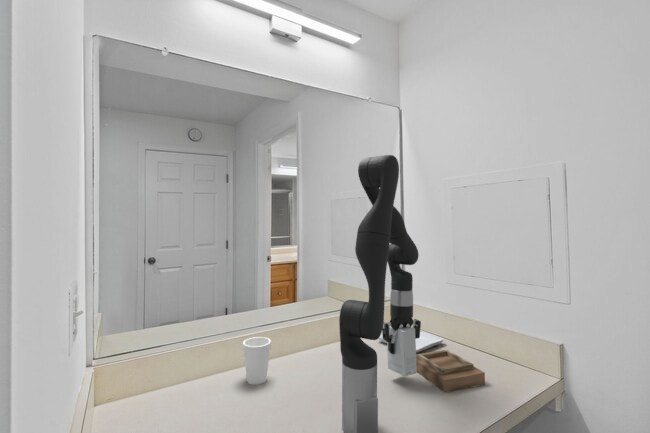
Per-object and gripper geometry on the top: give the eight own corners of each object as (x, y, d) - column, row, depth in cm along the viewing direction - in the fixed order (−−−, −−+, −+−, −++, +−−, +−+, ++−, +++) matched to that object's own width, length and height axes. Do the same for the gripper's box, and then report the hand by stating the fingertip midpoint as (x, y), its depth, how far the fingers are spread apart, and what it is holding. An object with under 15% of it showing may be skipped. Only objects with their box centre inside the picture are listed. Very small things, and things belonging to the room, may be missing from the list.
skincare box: (417, 373, 112) (417, 328, 112) (404, 377, 108) (404, 331, 109) (398, 364, 119) (398, 322, 119) (385, 368, 115) (386, 324, 116)
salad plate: (405, 332, 163) (405, 325, 163) (445, 345, 146) (445, 337, 146) (375, 343, 149) (375, 335, 149) (416, 359, 133) (416, 350, 133)
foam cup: (242, 388, 109) (243, 348, 109) (242, 375, 118) (242, 338, 118) (272, 384, 112) (272, 345, 112) (269, 372, 120) (269, 335, 120)
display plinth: (484, 384, 112) (484, 368, 112) (444, 392, 106) (445, 375, 106) (444, 360, 131) (444, 346, 131) (409, 366, 125) (409, 351, 125)
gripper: (388, 306, 108) (388, 359, 108) (426, 303, 113) (426, 354, 112) (377, 301, 115) (376, 350, 115) (413, 298, 120) (413, 346, 119)
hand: (401, 352), depth 114 cm, fingers closed on skincare box, 6 cm apart
